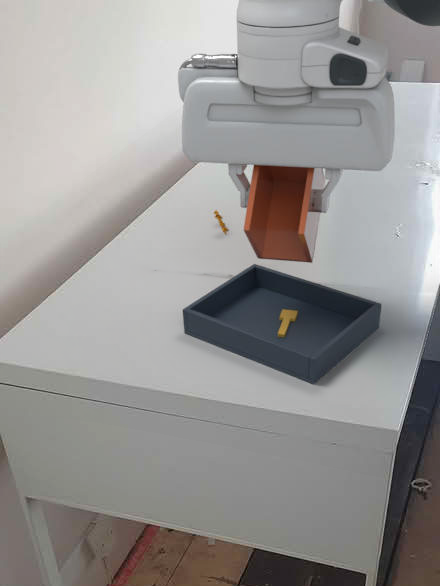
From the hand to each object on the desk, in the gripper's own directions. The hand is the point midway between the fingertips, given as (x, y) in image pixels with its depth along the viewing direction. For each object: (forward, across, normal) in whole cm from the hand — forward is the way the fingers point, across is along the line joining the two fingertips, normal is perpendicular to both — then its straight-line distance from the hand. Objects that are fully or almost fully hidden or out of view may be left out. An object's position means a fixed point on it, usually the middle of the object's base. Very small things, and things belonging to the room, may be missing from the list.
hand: (285, 208), depth 73 cm
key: (+12, +1, -1) cm, 13 cm away
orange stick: (+13, -14, +24) cm, 30 cm away
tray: (+13, 0, -2) cm, 13 cm away
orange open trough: (+3, 0, +4) cm, 4 cm away
